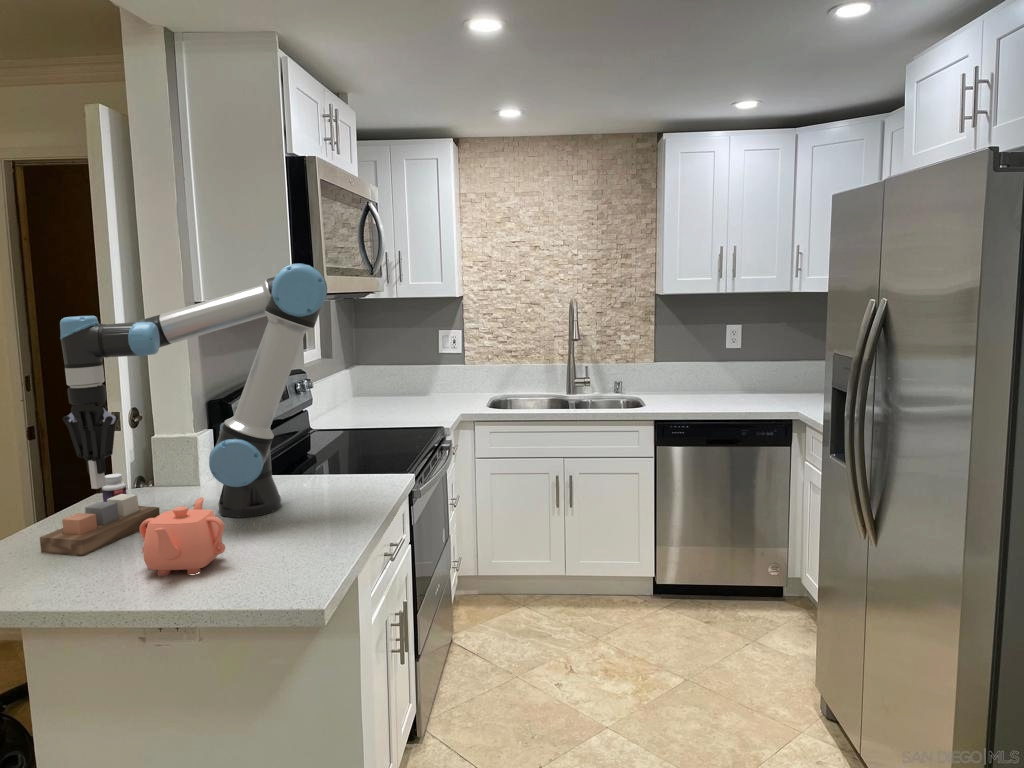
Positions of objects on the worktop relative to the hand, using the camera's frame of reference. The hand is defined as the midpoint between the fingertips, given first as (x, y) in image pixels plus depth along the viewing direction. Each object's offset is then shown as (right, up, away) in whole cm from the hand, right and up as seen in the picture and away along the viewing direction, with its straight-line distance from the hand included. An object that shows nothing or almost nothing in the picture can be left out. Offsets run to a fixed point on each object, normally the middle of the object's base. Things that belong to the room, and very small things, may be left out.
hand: (98, 487), depth 173 cm
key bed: (0, -12, +3) cm, 12 cm away
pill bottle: (-7, -9, +21) cm, 24 cm away
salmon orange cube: (-2, -11, -4) cm, 12 cm away
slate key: (0, -9, +2) cm, 10 cm away
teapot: (+28, -14, -18) cm, 36 cm away
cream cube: (+1, -8, +8) cm, 12 cm away
